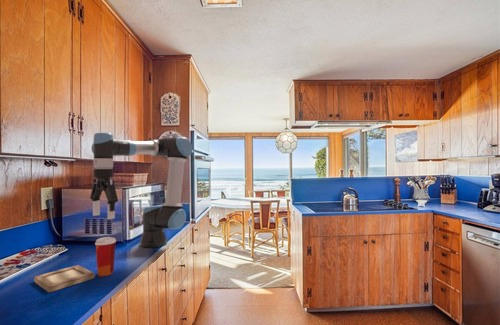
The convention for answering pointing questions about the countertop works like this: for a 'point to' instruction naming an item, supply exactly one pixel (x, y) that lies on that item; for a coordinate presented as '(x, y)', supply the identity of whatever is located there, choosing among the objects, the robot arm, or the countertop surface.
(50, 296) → the countertop surface
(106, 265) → the coffee cup
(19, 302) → the countertop surface
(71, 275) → the square tray
